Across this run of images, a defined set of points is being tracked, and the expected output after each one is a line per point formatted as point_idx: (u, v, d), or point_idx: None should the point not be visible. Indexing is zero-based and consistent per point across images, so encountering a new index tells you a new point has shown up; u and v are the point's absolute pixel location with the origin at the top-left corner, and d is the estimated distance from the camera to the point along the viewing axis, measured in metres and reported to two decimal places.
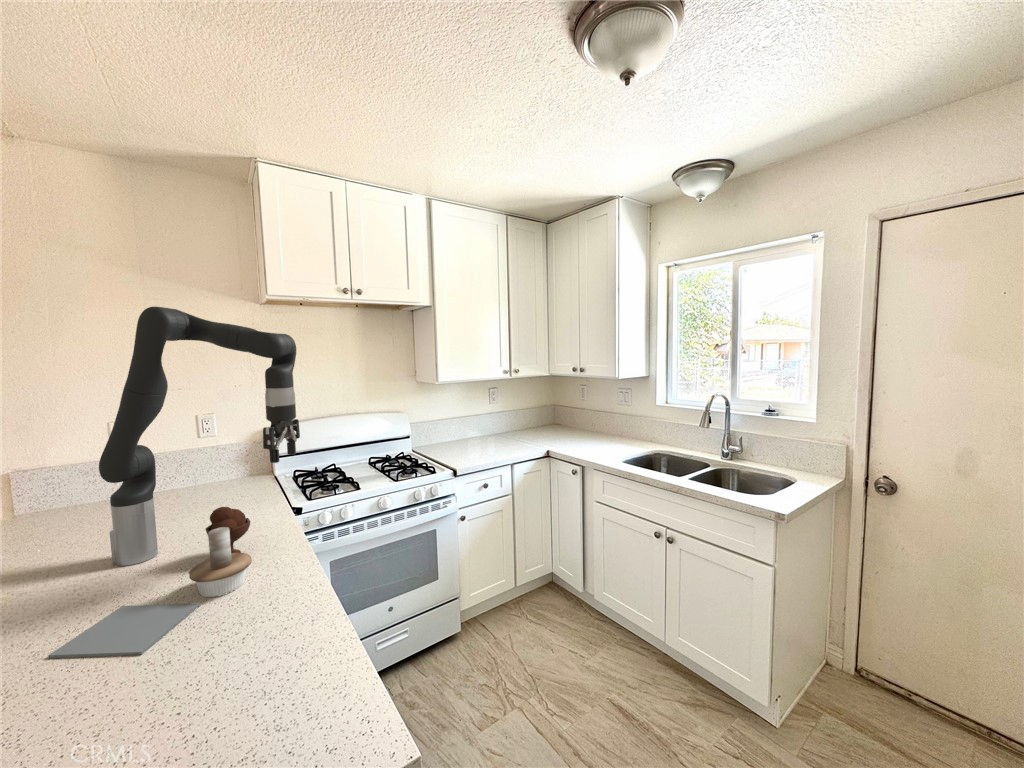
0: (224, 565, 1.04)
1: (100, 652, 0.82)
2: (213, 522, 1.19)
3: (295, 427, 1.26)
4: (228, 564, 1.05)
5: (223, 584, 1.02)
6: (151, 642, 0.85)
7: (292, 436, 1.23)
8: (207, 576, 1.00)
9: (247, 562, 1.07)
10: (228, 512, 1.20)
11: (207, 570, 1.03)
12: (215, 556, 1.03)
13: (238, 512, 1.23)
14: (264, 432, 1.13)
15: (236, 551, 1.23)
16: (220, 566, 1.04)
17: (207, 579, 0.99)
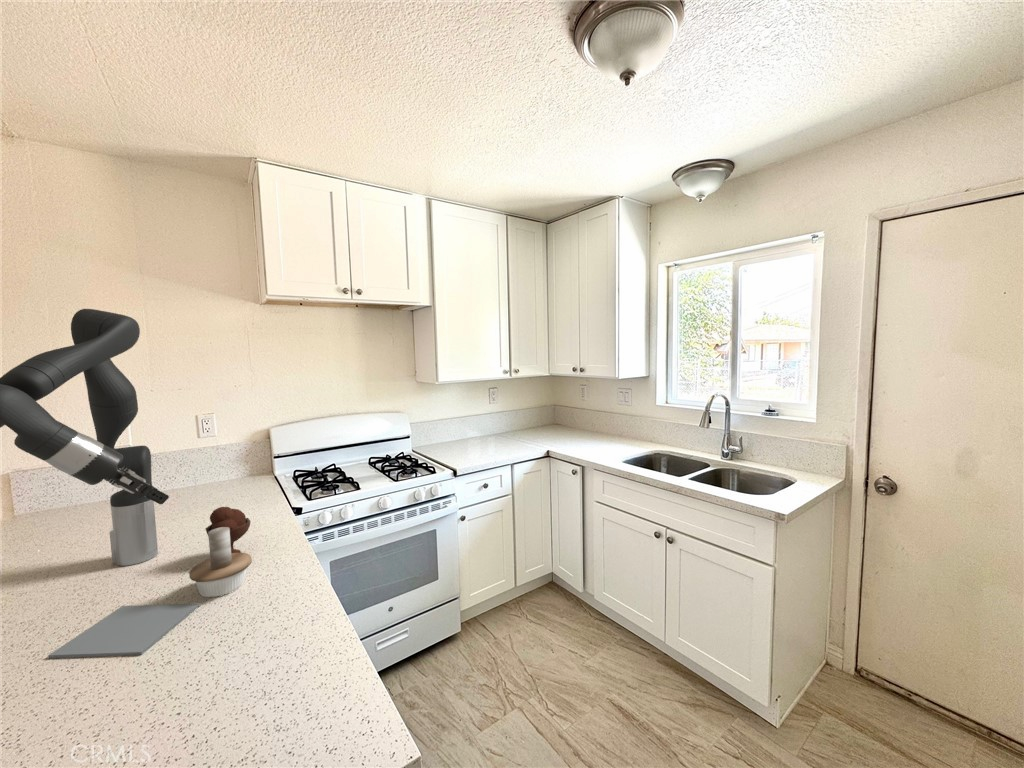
0: (224, 565, 1.04)
1: (100, 652, 0.82)
2: (213, 522, 1.19)
3: None
4: (228, 564, 1.05)
5: (223, 585, 1.02)
6: (151, 642, 0.85)
7: None
8: (207, 576, 1.00)
9: (247, 562, 1.07)
10: (228, 512, 1.20)
11: (207, 570, 1.03)
12: (215, 556, 1.03)
13: (238, 512, 1.23)
14: None
15: (236, 551, 1.23)
16: (220, 566, 1.04)
17: (207, 579, 0.99)
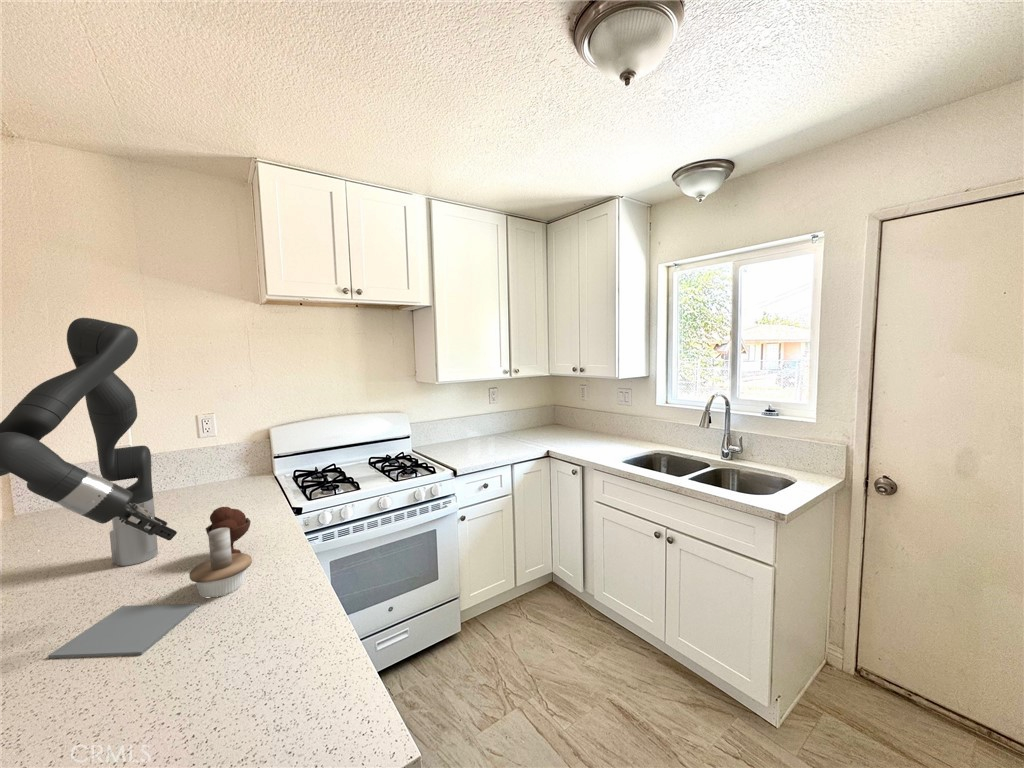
0: (224, 566, 1.04)
1: (100, 652, 0.82)
2: (213, 522, 1.19)
3: None
4: (228, 565, 1.05)
5: (223, 585, 1.01)
6: (151, 642, 0.85)
7: None
8: (207, 577, 1.00)
9: (247, 562, 1.06)
10: (228, 512, 1.20)
11: (207, 571, 1.03)
12: (215, 557, 1.03)
13: (238, 512, 1.23)
14: None
15: (236, 551, 1.23)
16: (220, 567, 1.03)
17: (207, 579, 0.99)
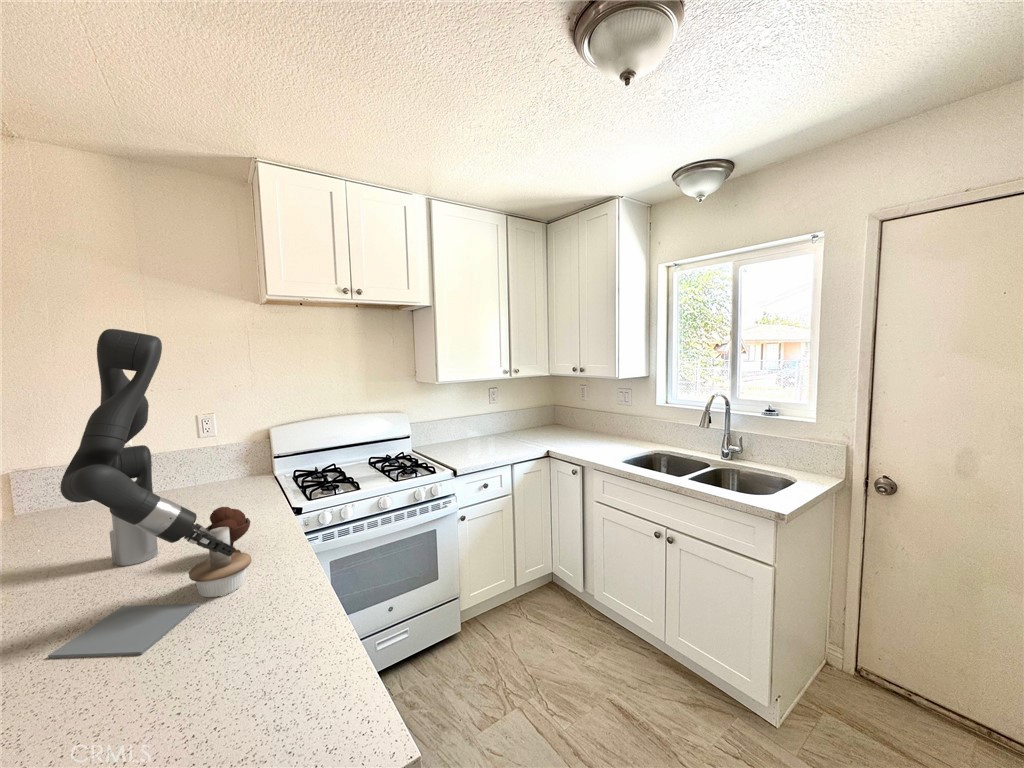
0: (224, 565, 1.04)
1: (100, 652, 0.82)
2: (213, 522, 1.19)
3: None
4: (228, 564, 1.05)
5: (223, 585, 1.01)
6: (151, 642, 0.85)
7: None
8: (207, 576, 1.00)
9: (247, 562, 1.07)
10: (228, 512, 1.20)
11: (207, 570, 1.03)
12: (215, 556, 1.03)
13: (238, 512, 1.23)
14: None
15: (236, 551, 1.23)
16: (220, 566, 1.04)
17: (207, 578, 0.99)
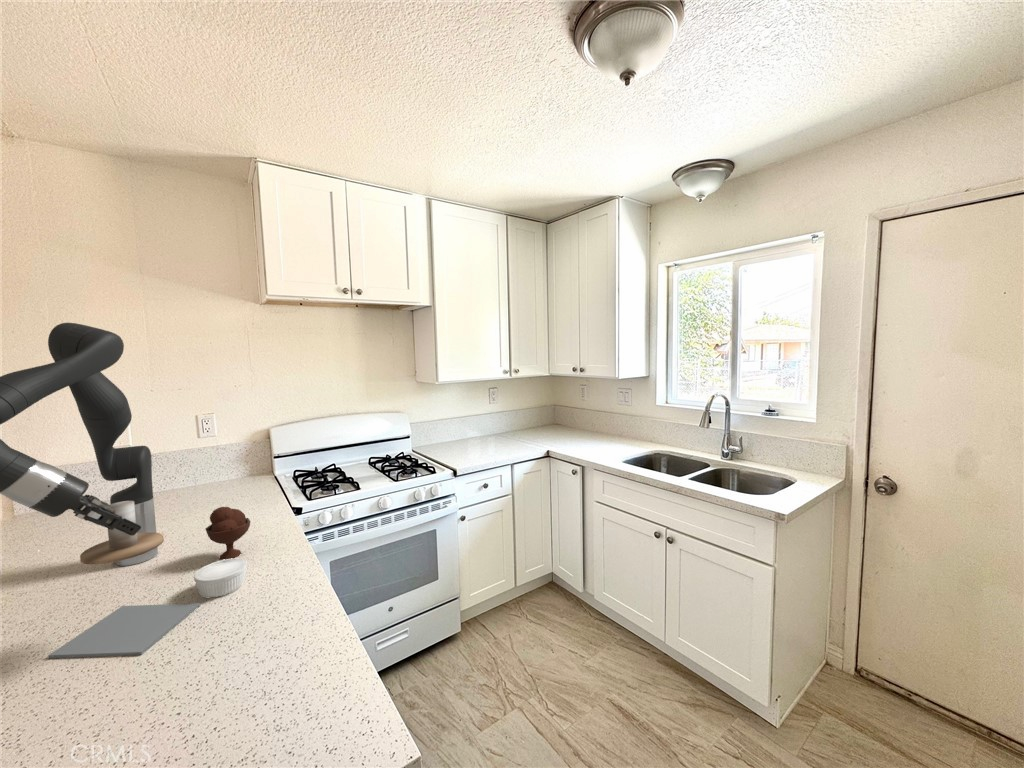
0: (126, 545, 0.87)
1: (100, 652, 0.82)
2: (213, 522, 1.19)
3: None
4: (131, 544, 0.88)
5: (223, 585, 1.01)
6: (151, 642, 0.85)
7: None
8: (100, 558, 0.83)
9: (156, 542, 0.90)
10: (228, 512, 1.20)
11: (104, 551, 0.86)
12: (114, 534, 0.86)
13: (238, 512, 1.23)
14: None
15: (236, 551, 1.23)
16: (120, 546, 0.87)
17: (99, 560, 0.82)
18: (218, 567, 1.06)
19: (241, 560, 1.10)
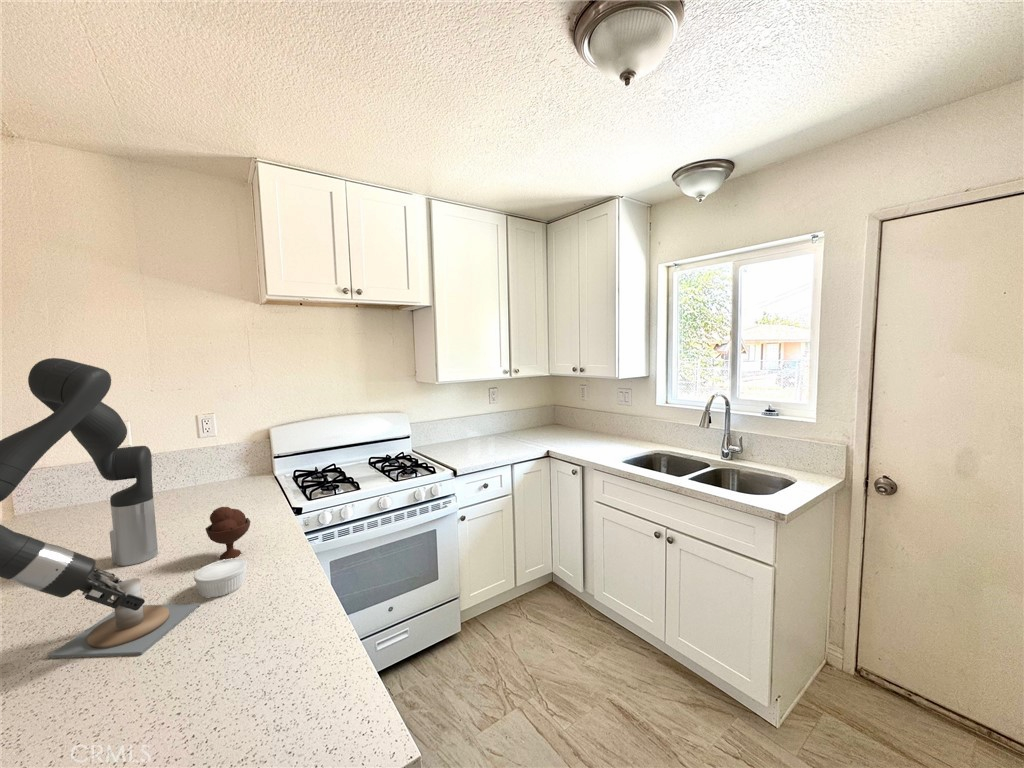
0: (132, 625, 0.88)
1: (100, 652, 0.82)
2: (213, 522, 1.19)
3: None
4: (138, 623, 0.89)
5: (223, 585, 1.01)
6: (151, 642, 0.85)
7: None
8: (107, 641, 0.84)
9: (162, 619, 0.91)
10: (228, 512, 1.20)
11: (111, 631, 0.87)
12: (121, 615, 0.87)
13: (238, 512, 1.23)
14: None
15: (236, 551, 1.23)
16: (127, 626, 0.88)
17: (106, 644, 0.83)
18: (218, 567, 1.06)
19: (241, 560, 1.10)
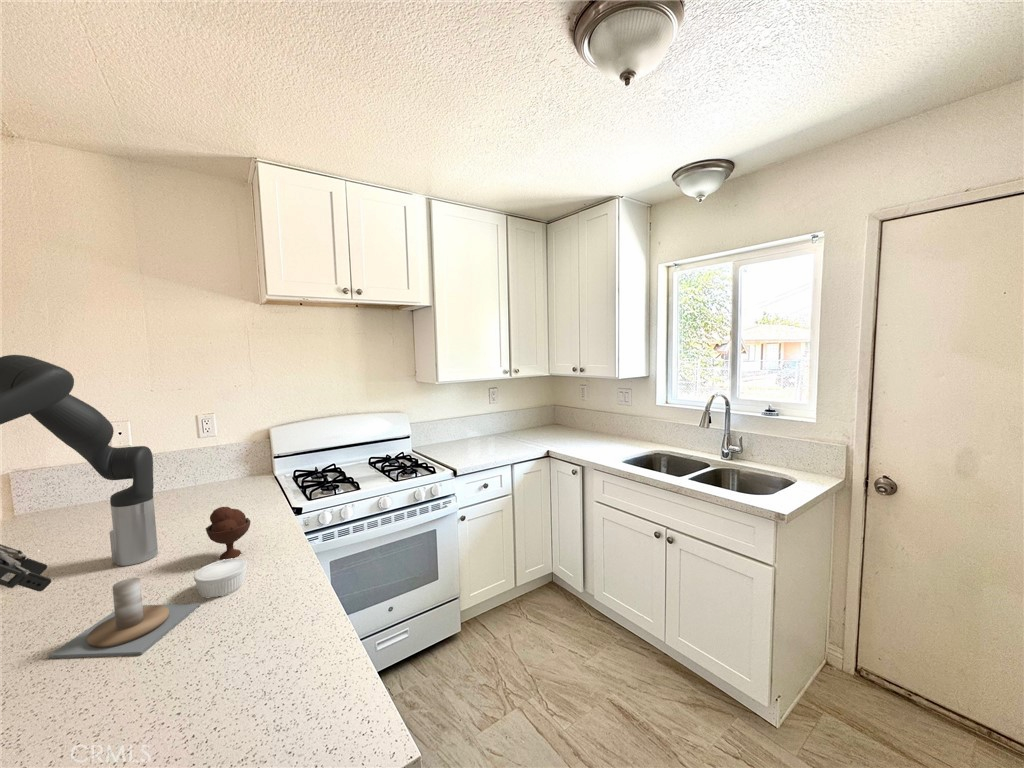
0: (132, 624, 0.88)
1: (100, 652, 0.82)
2: (213, 522, 1.19)
3: None
4: (138, 622, 0.89)
5: (223, 585, 1.01)
6: (151, 642, 0.85)
7: None
8: (108, 640, 0.84)
9: (162, 618, 0.91)
10: (228, 512, 1.20)
11: (111, 631, 0.87)
12: (121, 614, 0.87)
13: (238, 512, 1.23)
14: None
15: (236, 551, 1.23)
16: (127, 625, 0.88)
17: (107, 643, 0.83)
18: (218, 567, 1.06)
19: (241, 560, 1.10)
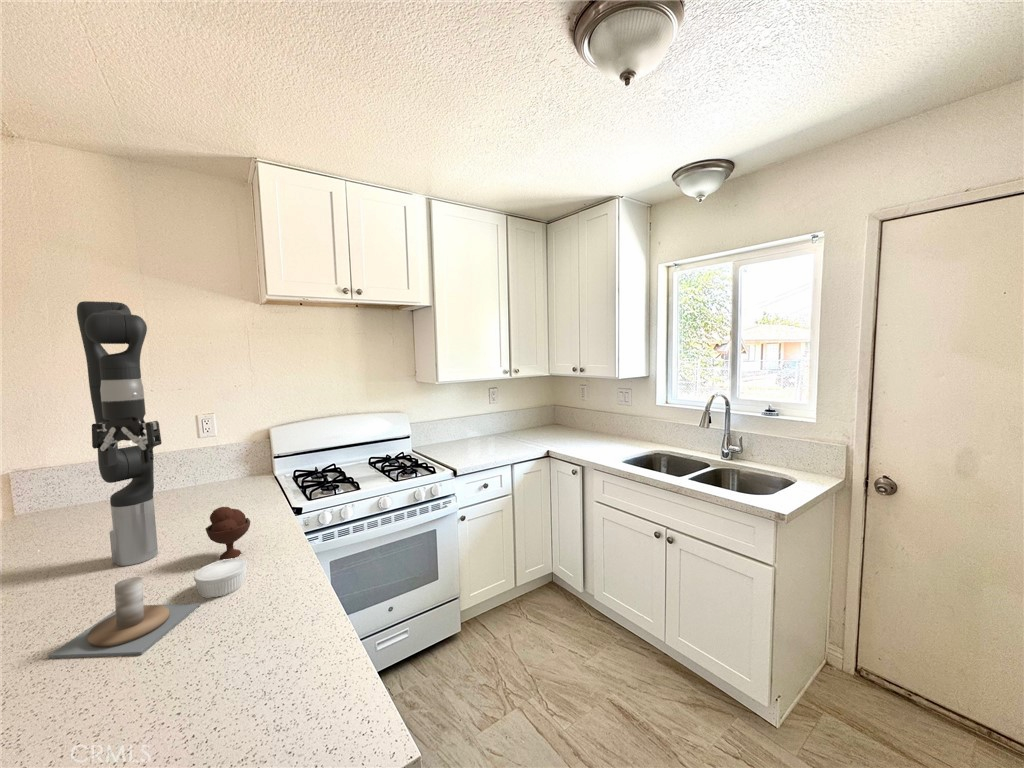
0: (134, 623, 0.89)
1: (100, 652, 0.82)
2: (213, 522, 1.19)
3: None
4: (139, 621, 0.90)
5: (223, 585, 1.01)
6: (151, 642, 0.85)
7: None
8: (111, 639, 0.84)
9: (164, 617, 0.92)
10: (228, 512, 1.20)
11: (112, 630, 0.87)
12: (123, 613, 0.87)
13: (238, 512, 1.23)
14: None
15: (236, 551, 1.23)
16: (129, 625, 0.88)
17: (111, 642, 0.84)
18: (218, 567, 1.06)
19: (241, 560, 1.10)
